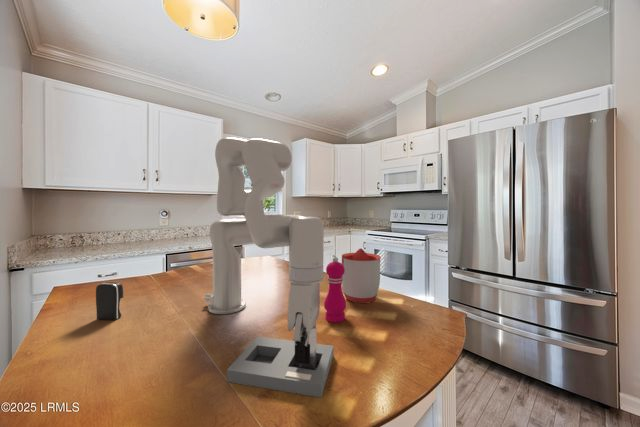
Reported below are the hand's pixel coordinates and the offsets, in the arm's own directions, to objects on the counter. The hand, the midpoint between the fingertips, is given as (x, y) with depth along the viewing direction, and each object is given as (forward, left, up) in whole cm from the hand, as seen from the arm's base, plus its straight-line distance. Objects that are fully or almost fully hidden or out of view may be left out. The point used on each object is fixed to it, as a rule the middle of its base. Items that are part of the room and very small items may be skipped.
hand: (305, 354), depth 56 cm
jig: (-5, 0, -4) cm, 6 cm away
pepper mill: (+2, +28, -4) cm, 28 cm away
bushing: (0, 0, -2) cm, 2 cm away
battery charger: (-69, +12, -4) cm, 70 cm away
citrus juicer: (+8, +48, -4) cm, 49 cm away
